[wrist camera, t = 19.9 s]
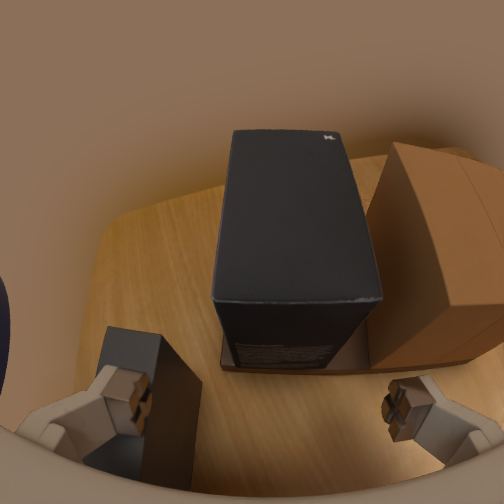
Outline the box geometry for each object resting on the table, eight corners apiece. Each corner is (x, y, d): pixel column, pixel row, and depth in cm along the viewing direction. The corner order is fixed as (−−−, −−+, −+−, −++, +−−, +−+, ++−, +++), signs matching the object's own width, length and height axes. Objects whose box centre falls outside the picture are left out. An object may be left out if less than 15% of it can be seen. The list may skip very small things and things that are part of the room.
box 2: (429, 364, 18) (521, 302, 9) (406, 243, 24) (454, 154, 16) (476, 358, 17) (562, 298, 9) (449, 246, 24) (500, 168, 16)
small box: (237, 238, 24) (228, 124, 16) (318, 240, 24) (343, 128, 15) (229, 369, 18) (201, 298, 10) (329, 369, 18) (393, 298, 9)
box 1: (369, 369, 18) (451, 305, 10) (355, 239, 24) (392, 141, 16) (429, 364, 18) (521, 302, 9) (406, 243, 24) (454, 154, 16)
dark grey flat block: (152, 516, 13) (79, 557, 5) (168, 376, 19) (107, 325, 11) (187, 524, 13) (136, 580, 4) (202, 381, 19) (162, 333, 11)
